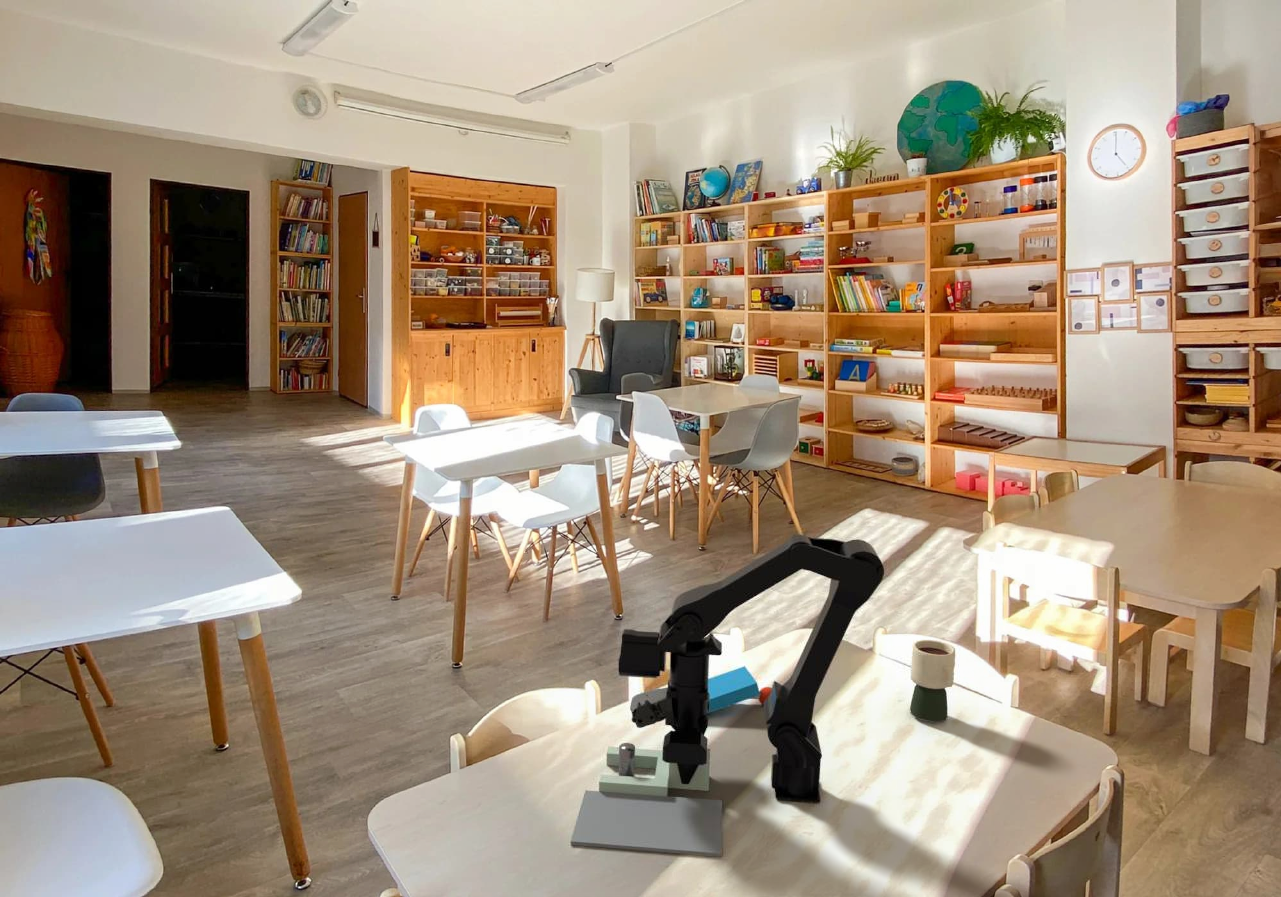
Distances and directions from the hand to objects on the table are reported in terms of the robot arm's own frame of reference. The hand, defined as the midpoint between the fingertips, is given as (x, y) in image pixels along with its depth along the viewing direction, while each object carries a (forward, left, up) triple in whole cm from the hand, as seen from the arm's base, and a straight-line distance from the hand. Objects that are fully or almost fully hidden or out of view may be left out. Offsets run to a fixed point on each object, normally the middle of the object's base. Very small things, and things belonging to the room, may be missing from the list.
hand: (686, 775), depth 129 cm
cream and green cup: (-41, -26, -1) cm, 49 cm away
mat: (+5, +11, -1) cm, 12 cm away
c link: (+4, 0, -1) cm, 5 cm away
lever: (-6, -25, -2) cm, 26 cm away
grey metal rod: (+9, 0, -1) cm, 9 cm away
